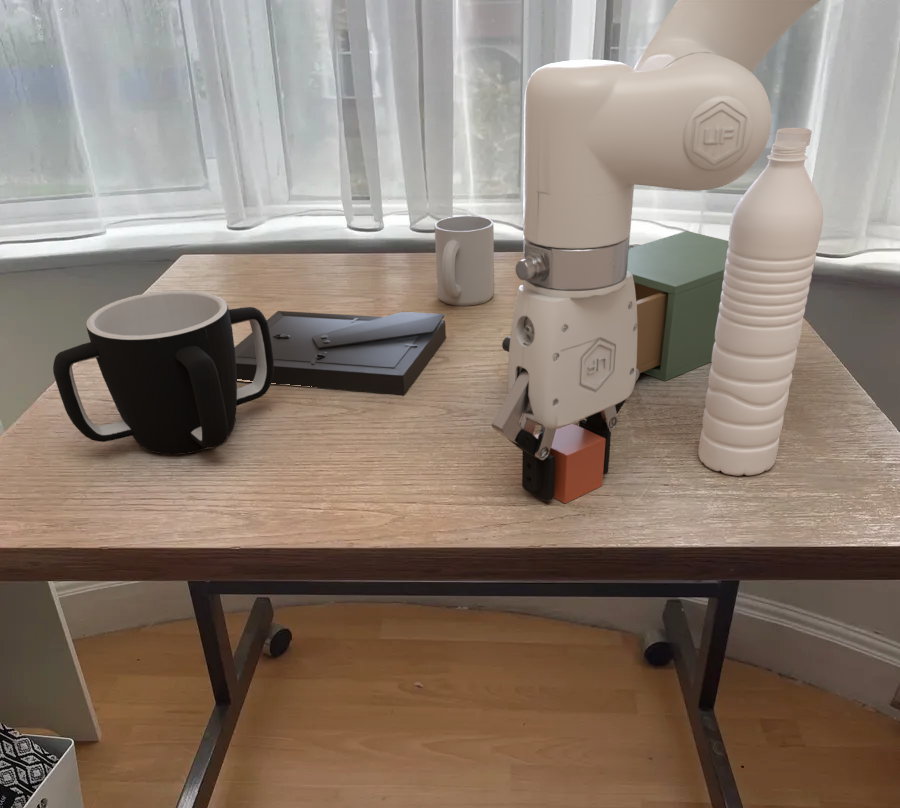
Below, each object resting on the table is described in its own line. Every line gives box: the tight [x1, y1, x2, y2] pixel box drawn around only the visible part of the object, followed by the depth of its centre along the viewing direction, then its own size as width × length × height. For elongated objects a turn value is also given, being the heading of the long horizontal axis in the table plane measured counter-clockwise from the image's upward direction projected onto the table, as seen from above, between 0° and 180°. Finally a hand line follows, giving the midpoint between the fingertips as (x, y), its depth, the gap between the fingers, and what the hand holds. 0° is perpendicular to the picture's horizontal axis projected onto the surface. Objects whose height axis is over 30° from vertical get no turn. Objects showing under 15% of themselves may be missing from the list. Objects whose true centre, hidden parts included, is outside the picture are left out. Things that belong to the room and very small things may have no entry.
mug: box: [52, 290, 274, 455], centre depth 82 cm, size 16×16×12 cm
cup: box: [433, 215, 495, 307], centre depth 111 cm, size 7×10×9 cm
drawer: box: [501, 283, 669, 374], centre depth 90 cm, size 19×10×8 cm, turn 129°
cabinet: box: [627, 230, 729, 382], centre depth 96 cm, size 16×12×10 cm
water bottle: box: [697, 127, 824, 476], centre depth 71 cm, size 9×6×25 cm
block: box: [533, 423, 606, 504], centre depth 74 cm, size 4×4×4 cm
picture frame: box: [234, 310, 447, 396], centre depth 99 cm, size 16×3×21 cm
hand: (565, 479), depth 75 cm, fingers open, 5 cm apart
